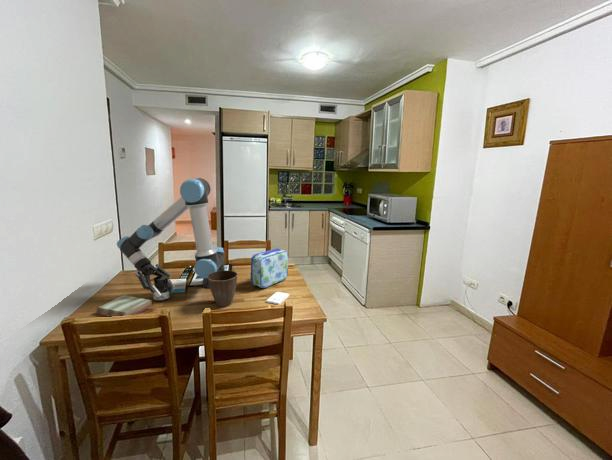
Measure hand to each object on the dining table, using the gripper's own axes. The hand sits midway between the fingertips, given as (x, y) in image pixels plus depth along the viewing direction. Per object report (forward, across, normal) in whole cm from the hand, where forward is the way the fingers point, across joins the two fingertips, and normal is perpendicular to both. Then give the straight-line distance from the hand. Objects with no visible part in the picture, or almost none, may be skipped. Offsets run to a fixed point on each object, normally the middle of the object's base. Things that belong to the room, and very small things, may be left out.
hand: (166, 292), depth 154 cm
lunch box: (+34, -39, +28) cm, 59 cm away
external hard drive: (+43, -19, +37) cm, 60 cm away
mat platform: (-5, +16, -11) cm, 20 cm away
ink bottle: (+1, 0, -5) cm, 5 cm away
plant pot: (+26, -5, +20) cm, 33 cm away
